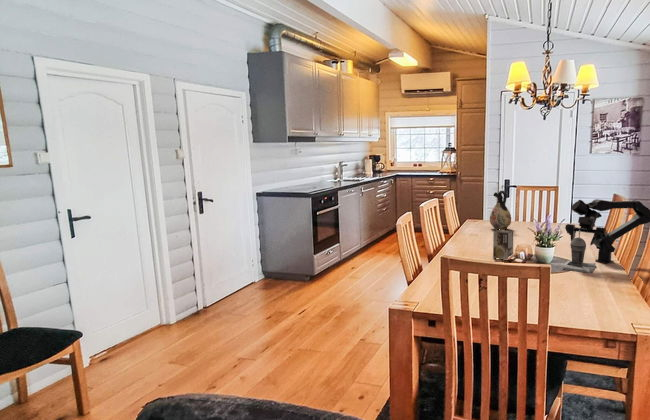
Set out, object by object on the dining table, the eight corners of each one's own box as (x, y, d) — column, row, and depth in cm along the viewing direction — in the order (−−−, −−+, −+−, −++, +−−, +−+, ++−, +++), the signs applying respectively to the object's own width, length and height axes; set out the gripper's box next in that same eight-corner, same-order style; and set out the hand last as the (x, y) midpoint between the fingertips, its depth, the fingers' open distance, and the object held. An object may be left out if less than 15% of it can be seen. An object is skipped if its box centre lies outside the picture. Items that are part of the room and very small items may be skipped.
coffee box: (513, 259, 253) (514, 231, 251) (507, 261, 249) (508, 233, 247) (498, 256, 260) (498, 229, 258) (492, 258, 256) (493, 231, 254)
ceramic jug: (485, 228, 344) (485, 189, 340) (501, 226, 349) (502, 188, 344) (499, 232, 328) (500, 191, 324) (517, 230, 333) (518, 190, 328)
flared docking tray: (595, 266, 234) (596, 263, 233) (590, 273, 222) (590, 269, 222) (568, 263, 242) (568, 259, 241) (562, 269, 230) (562, 266, 230)
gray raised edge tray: (596, 266, 233) (596, 266, 233) (591, 273, 222) (591, 272, 222) (568, 263, 241) (568, 262, 241) (562, 269, 231) (562, 268, 231)
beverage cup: (583, 265, 235) (585, 228, 232) (587, 269, 228) (589, 230, 225) (567, 264, 237) (569, 227, 234) (571, 268, 230) (572, 230, 227)
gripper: (567, 209, 241) (558, 232, 235) (606, 212, 227) (598, 237, 221) (572, 221, 247) (563, 244, 241) (610, 225, 233) (602, 249, 228)
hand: (581, 243), depth 233 cm, fingers open, 9 cm apart
